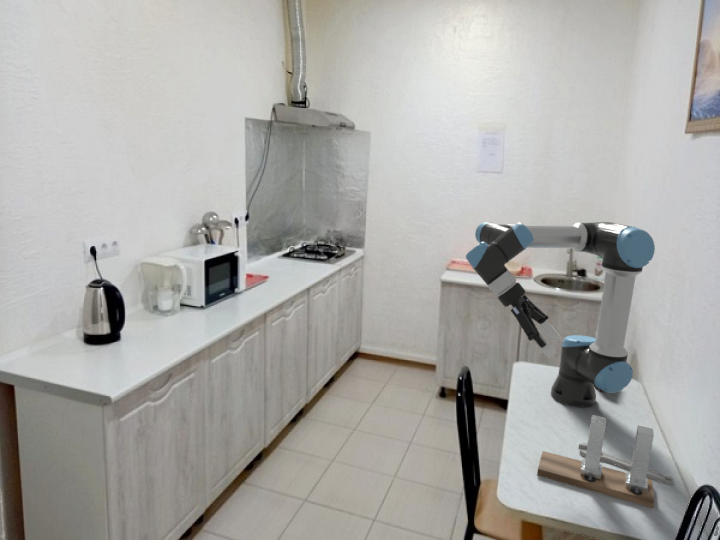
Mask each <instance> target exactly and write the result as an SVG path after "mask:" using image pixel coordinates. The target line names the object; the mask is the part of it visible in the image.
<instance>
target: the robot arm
mask: <svg viewBox="0 0 720 540" xmlns="http://www.w3.org/2000/svg"><path fill="white" fill-rule="evenodd" d="M474 234H475V236H474V237H475V239H476V241H477V242H478V244H477V245H476V246H475V247H473V248H472V249H471V250H469V251H468V252H467V253H466V255H465V259H466V260H467V262H468V263H469V264H470V266H471V268H472V269H473V270H474V271H475V272H476V273H477V274H478V276H479V278H481V279H482V280H483V282H484V283H485V284H486V285H487V286H488V290H489V291H490V292H492V293H493V294H494V295H495V296H498V297H497V298H498V301H499V302H500V303H501V305H503V307H505V308H507V307H509V306H511V307H512V308H511V309H510V313H512V315H513V316H514V317H515V318H516V321H517V322H518V324H519V325H520V327H521V329H522V330H523V332H524V334H525V335H526V337H527V339H528V341H530V342H531V341H534V343H535V344H536V345H537V347H539V349H540V350H541V351H542V352H543V354H544V355H545V356H546V357H547V359H549V358H551V357H552V356H554V355H555V354H557V351H556V350H555V348H554V347H553V346H552V345H551V344H550V342H549V341H548V340H547V338H546V337H545V336H544V335H543V334H542V333H540V332H539V330H538V328H537V326H536V325H535V322H536V323H538V324H539V327H540V329H542V331H543V332H544V333H545V335H546V336H547V337H548V338H549V340H550V341H552V343H556V342H557V341H559V340H560V339H562V336H561V335H560V334H559V332H557V330H556V329H555V328H554V327H553V325H552V324H551V323H550V322H549V320H548V319H549V318H550V317H549V316H548V315H546V314H545V313H544V312H543V311H542V310H541V309H540V308H539V307H538V306H536V305H535V303H533V301H531V300H530V299H529V297H528V296H527V295H526V290H525V288H524V287H523V286H522V285H521V283H519V282H517V278H516V277H515V276H514V275H513V274H512V273H511V271H510V270H509V269H508V268H507V266H506V265H507V264H508V263H509V262H510V261H512V260H513V259H514V258H515V257H516V256H518V255H519V254H520V253H522V252H524V251H525V250H527V249H571V250H572V251H574V252H577V253H579V252H581V253H587V254H591V255H595V256H597V257H600V258H602V262H601V268H602V269H603V270H604V271H605V276H604V284H603V289H602V296H601V301H600V309H599V314H598V320H597V327H596V332H595V337H593V336H587V335H577V334H575V335H567V336H565V337H564V338H563V340H562V343H561V352H560V361H559V367H558V368H559V369H558V375H557V377H556V378H555V380H554V382H553V384H552V386H551V390H550V396H551V398H553V399H554V400H555V401H557V402H559V403H561V404H564V405H567V406H570V407H577V408H588V407H592V406H594V405H595V404H596V400H597V393H596V389H595V388H594V385H595V386H596V387H597V388H598V389H601V390H603V391H605V392H606V393H608V394H614V393H615V394H616V393H619V392H621V391H623V390H624V389H625V388H626V387H628V385H629V384H630V383H631V381H632V379H633V375H634V371H633V367H632V366H631V364H630V363H628V356H629V355H628V354H629V351H627V349H626V347H625V341H626V336H627V330H628V324H629V319H630V317H629V316H630V312H631V306H632V300H633V294H634V289H635V281H636V277H637V275H639V274H641V273H642V272H643V268H644V267H645V266H647V265H648V264H649V263H650V261H652V259H653V257H654V255H655V250H656V247H655V241H654V239H653V237H652V235H650V233H649V232H647V231H646V230H644V229H642V228H641V229H640V228H639V227H636V226H631V225H630V226H629V225H625V224H619V223H615V222H608V221H601V222H598V221H597V222H575V223H573V224H572V225H558V224H557V225H556V224H555V225H553V224H549V225H548V224H524V223H521V222H517V223H515V224H514V223H513V224H512V223H511V224H509V223H508V224H506V223H502V224H501V223H494V222H491V221H490V222H487V221H486V222H482V223H480V224H479V225H478V226H477V227H476V230H475V233H474ZM533 320H534V321H535V322H534V321H533ZM605 392H604V393H605Z"/></svg>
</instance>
